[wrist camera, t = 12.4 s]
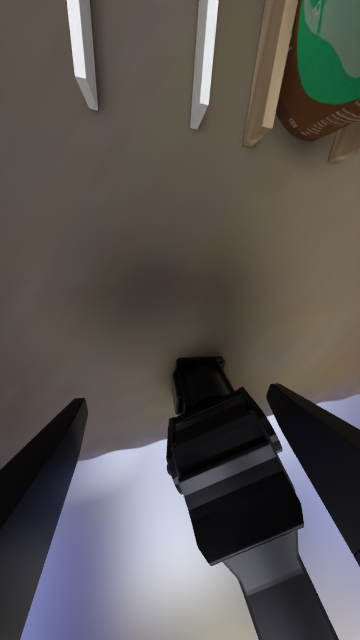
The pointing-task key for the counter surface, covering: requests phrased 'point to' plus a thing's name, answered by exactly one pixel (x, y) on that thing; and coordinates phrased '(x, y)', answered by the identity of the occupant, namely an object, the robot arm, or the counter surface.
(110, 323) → the counter surface
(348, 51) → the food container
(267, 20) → the tan wooden u-shaped piece
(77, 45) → the white frame
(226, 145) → the counter surface
